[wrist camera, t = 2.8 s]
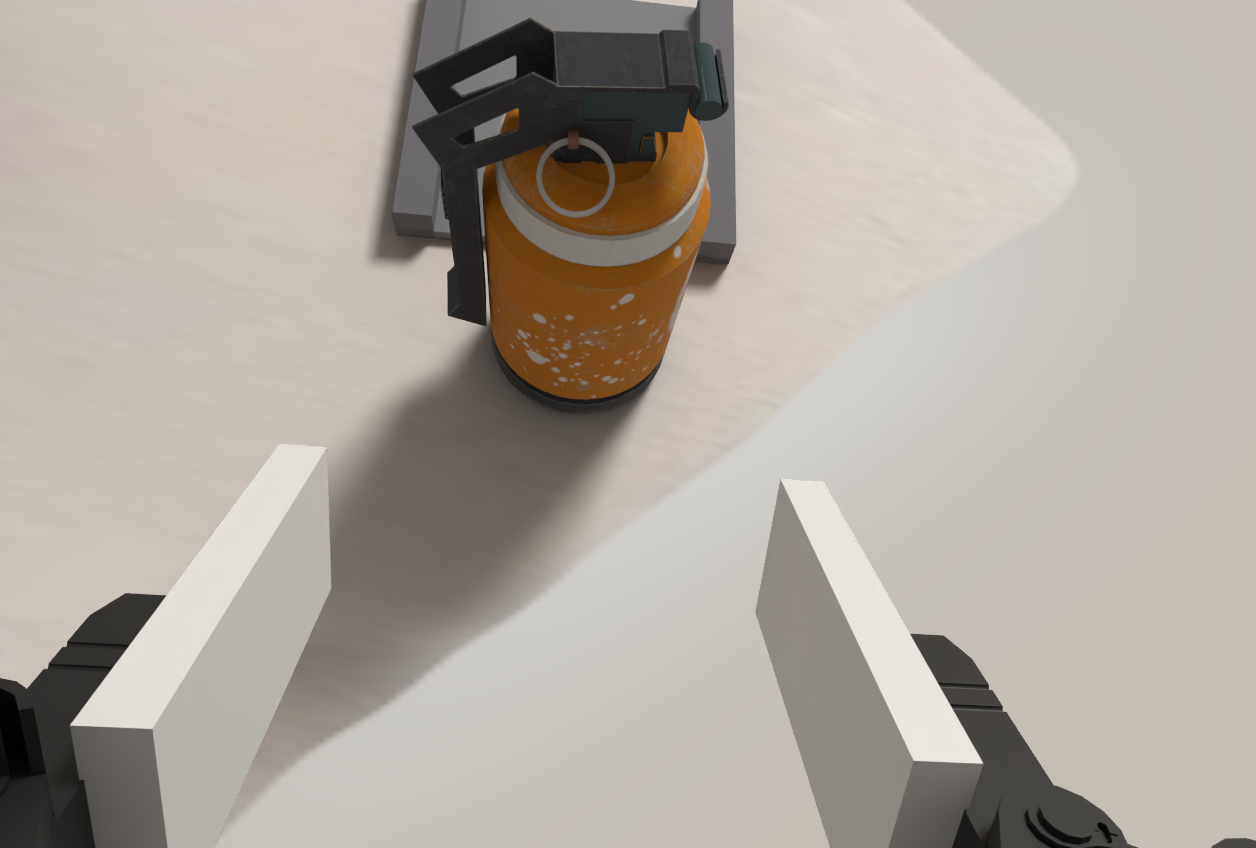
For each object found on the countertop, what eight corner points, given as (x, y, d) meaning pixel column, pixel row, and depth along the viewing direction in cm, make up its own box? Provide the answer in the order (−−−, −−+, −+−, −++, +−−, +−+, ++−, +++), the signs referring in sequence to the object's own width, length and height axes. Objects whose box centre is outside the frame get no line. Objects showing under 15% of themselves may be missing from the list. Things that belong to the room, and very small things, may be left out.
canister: (671, 415, 46) (774, 164, 27) (451, 422, 44) (401, 162, 26) (655, 264, 49) (737, -52, 30) (450, 266, 47) (404, -65, 29)
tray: (396, 234, 48) (391, 212, 46) (436, -15, 55) (433, -43, 53) (728, 264, 49) (735, 244, 48) (725, 19, 56) (732, -7, 54)
